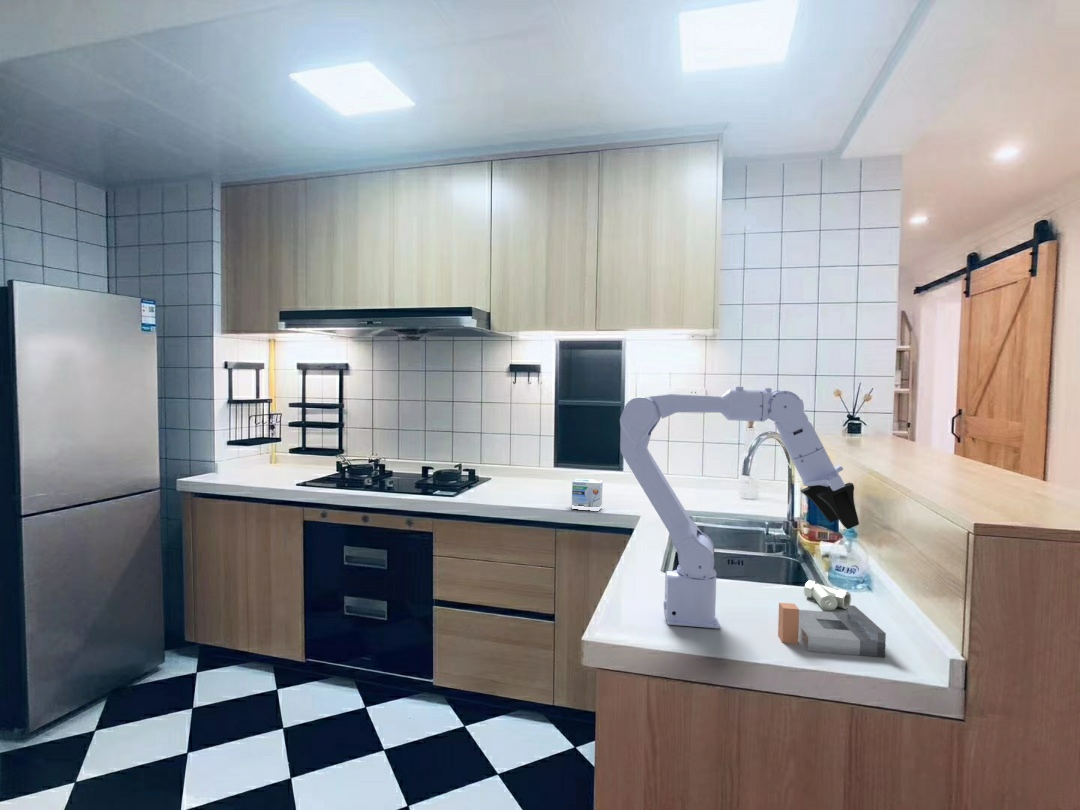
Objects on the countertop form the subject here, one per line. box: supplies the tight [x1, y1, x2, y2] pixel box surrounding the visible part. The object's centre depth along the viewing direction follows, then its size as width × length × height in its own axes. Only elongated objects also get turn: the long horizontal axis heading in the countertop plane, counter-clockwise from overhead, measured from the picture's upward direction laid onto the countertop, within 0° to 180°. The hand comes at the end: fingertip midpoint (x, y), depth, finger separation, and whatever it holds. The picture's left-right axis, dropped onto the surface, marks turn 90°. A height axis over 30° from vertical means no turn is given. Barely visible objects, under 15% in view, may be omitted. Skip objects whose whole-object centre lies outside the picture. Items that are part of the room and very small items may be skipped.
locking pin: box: [777, 602, 800, 645], centre depth 96 cm, size 3×3×6 cm
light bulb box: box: [571, 478, 604, 507], centre depth 203 cm, size 11×7×11 cm, turn 77°
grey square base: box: [798, 604, 887, 658], centre depth 97 cm, size 12×12×4 cm
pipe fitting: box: [803, 579, 852, 612], centre depth 113 cm, size 8×4×7 cm
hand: (843, 523), depth 96 cm, fingers open, 7 cm apart
